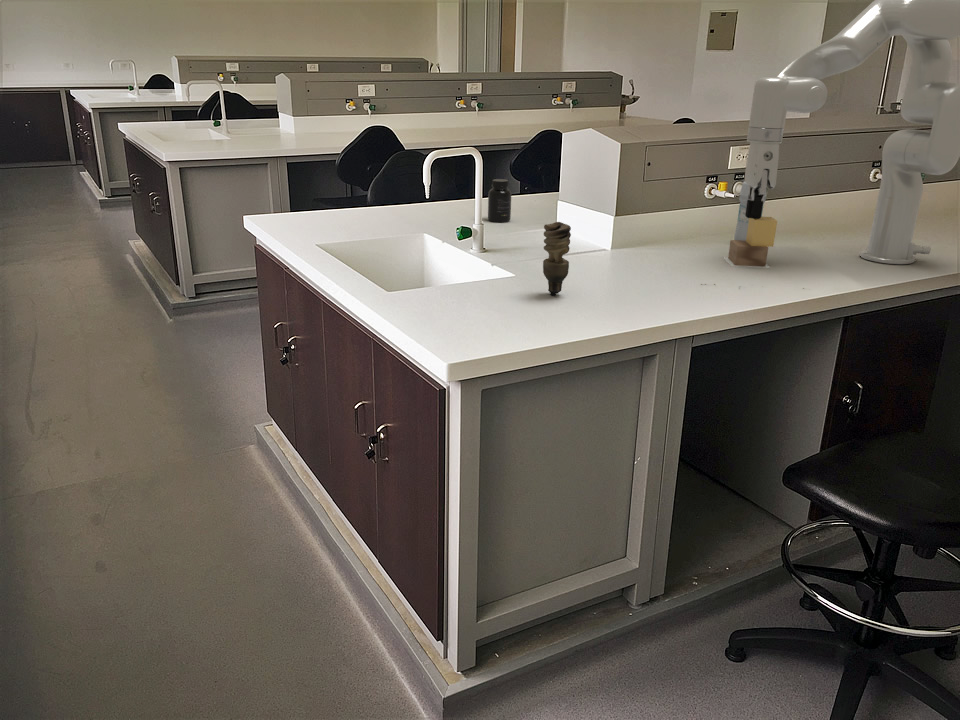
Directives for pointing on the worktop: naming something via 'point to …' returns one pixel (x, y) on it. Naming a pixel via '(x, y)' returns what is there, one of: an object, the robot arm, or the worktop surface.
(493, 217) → the supplement bottle
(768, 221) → the ochre block
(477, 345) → the worktop surface
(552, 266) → the light bulb
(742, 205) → the bottle
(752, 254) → the walnut block
